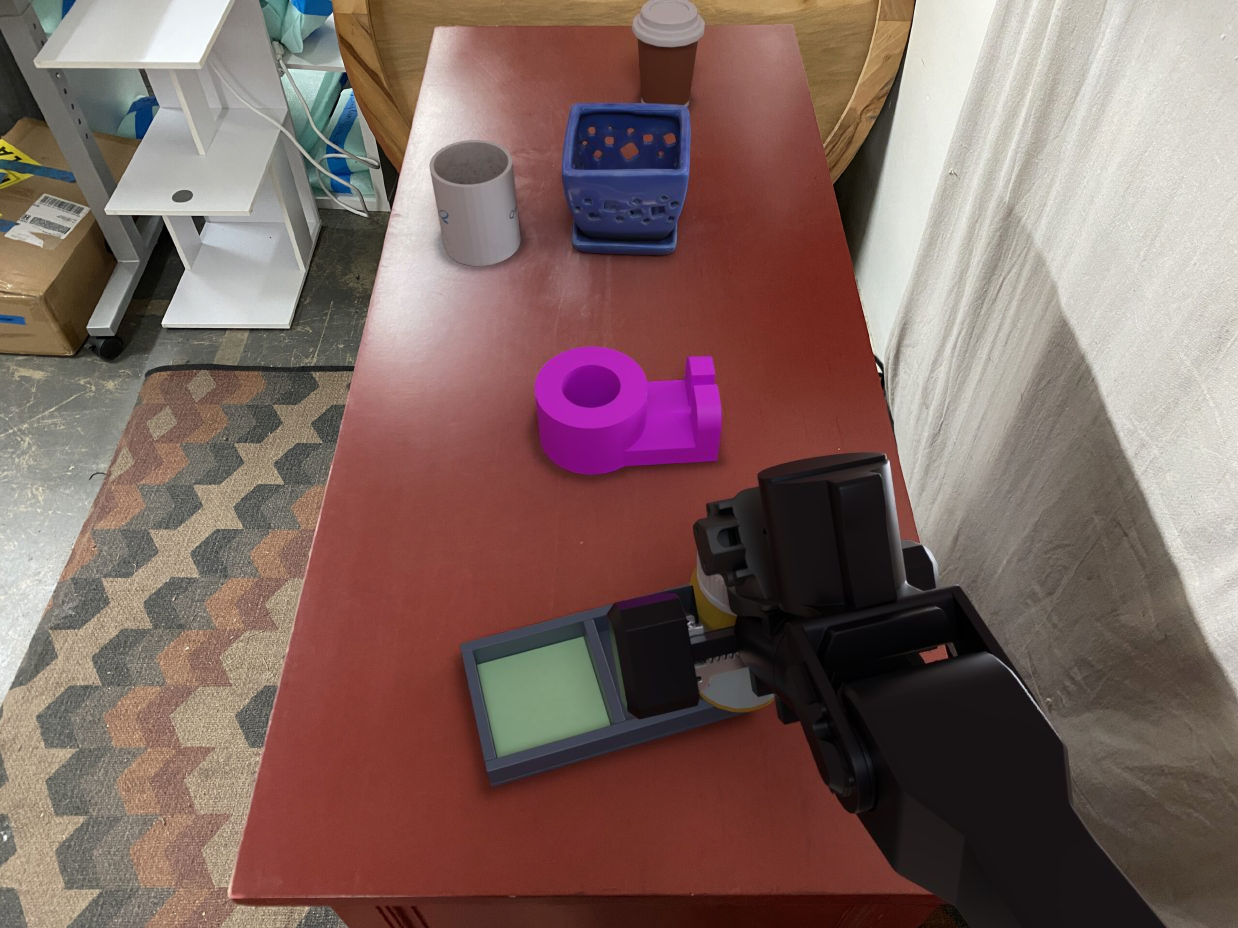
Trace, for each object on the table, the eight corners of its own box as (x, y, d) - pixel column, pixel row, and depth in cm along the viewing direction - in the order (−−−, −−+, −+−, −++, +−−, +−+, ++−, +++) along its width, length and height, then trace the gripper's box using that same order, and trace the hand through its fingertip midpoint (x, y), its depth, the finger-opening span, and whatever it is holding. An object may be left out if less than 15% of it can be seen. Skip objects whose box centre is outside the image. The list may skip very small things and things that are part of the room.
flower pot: (685, 268, 100) (692, 173, 91) (564, 266, 100) (558, 170, 91) (684, 196, 108) (690, 102, 99) (572, 194, 109) (568, 100, 99)
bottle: (672, 644, 66) (672, 517, 55) (761, 614, 67) (779, 484, 56) (710, 730, 62) (719, 611, 50) (804, 696, 63) (834, 573, 51)
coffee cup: (713, 99, 122) (721, 8, 113) (670, 127, 118) (674, 34, 108) (660, 76, 126) (664, -14, 116) (616, 102, 121) (616, 11, 112)
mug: (514, 267, 100) (505, 189, 92) (436, 264, 100) (421, 185, 93) (529, 200, 108) (522, 122, 100) (457, 197, 108) (445, 119, 100)
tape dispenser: (540, 477, 82) (535, 431, 77) (538, 396, 88) (533, 349, 83) (718, 467, 83) (724, 421, 78) (703, 388, 89) (708, 340, 84)
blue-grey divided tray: (748, 712, 68) (753, 695, 66) (491, 787, 64) (486, 772, 62) (701, 598, 74) (704, 579, 72) (464, 661, 70) (459, 643, 68)
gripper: (984, 465, 45) (850, 445, 60) (613, 542, 42) (572, 500, 57) (1012, 682, 46) (874, 608, 61) (654, 771, 43) (603, 670, 59)
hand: (734, 593), depth 60 cm, fingers closed on bottle, 7 cm apart
